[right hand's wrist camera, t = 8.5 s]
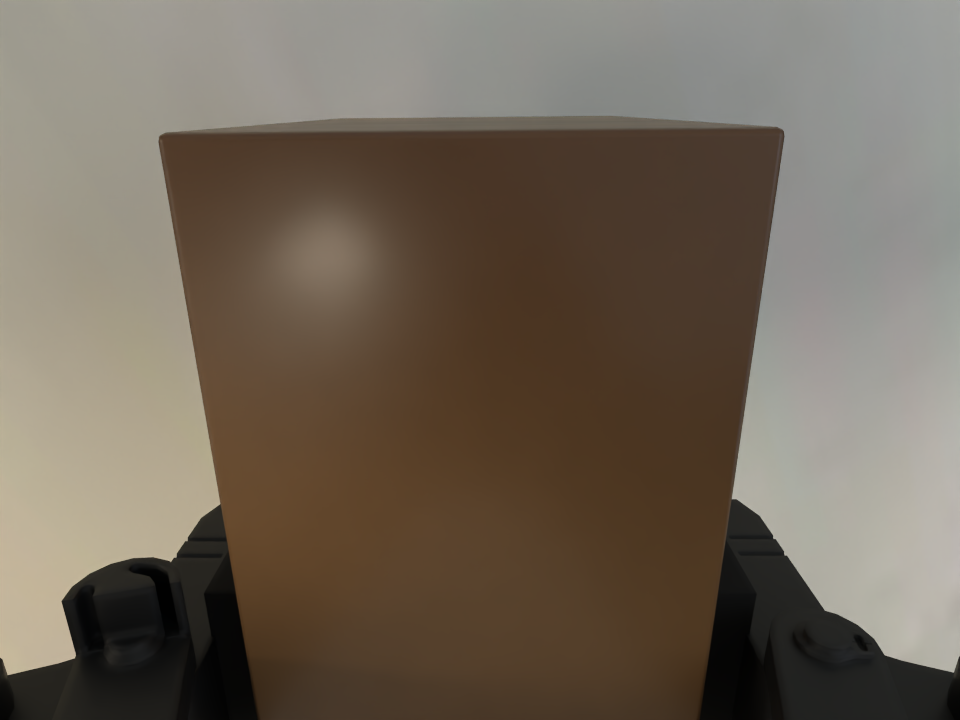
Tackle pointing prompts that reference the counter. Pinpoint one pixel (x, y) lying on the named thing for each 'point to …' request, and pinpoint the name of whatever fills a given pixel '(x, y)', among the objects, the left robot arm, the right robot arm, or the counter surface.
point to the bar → (475, 402)
